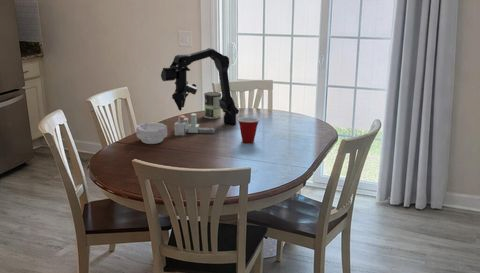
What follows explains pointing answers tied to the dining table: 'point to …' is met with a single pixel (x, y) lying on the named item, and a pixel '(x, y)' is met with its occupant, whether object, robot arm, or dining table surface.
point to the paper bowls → (151, 132)
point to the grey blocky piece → (181, 127)
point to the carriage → (193, 124)
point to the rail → (205, 130)
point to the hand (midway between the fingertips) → (181, 108)
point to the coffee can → (212, 105)
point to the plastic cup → (248, 129)
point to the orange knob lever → (181, 118)
